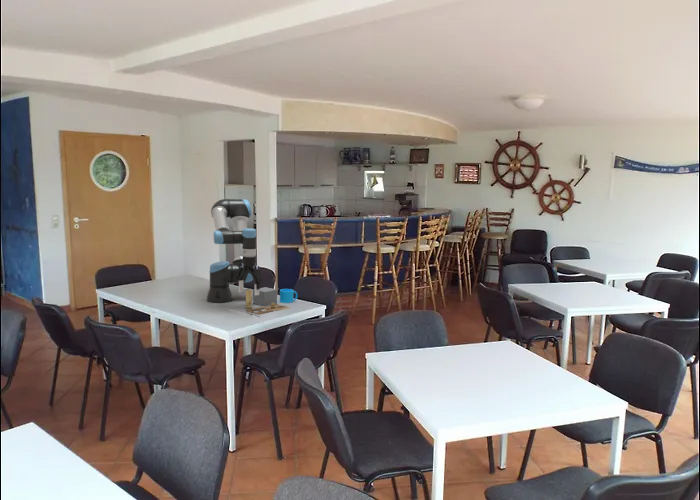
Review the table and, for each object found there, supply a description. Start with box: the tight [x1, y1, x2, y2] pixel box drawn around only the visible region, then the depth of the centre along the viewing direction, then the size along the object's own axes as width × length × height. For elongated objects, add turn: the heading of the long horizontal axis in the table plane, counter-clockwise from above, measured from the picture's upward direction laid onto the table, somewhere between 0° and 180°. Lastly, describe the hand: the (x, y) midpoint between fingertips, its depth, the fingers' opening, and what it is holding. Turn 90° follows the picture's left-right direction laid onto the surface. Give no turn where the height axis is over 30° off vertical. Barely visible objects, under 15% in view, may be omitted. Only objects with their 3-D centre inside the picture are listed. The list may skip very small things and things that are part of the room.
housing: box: [252, 286, 278, 307], centre depth 310 cm, size 10×10×10 cm
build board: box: [245, 306, 275, 318], centre depth 292 cm, size 11×11×2 cm
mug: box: [279, 288, 298, 304], centre depth 318 cm, size 12×8×8 cm
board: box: [261, 303, 292, 312], centre depth 301 cm, size 12×12×4 cm
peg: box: [245, 288, 253, 310], centre depth 296 cm, size 3×3×12 cm
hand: (248, 293), depth 295 cm, fingers open, 13 cm apart
